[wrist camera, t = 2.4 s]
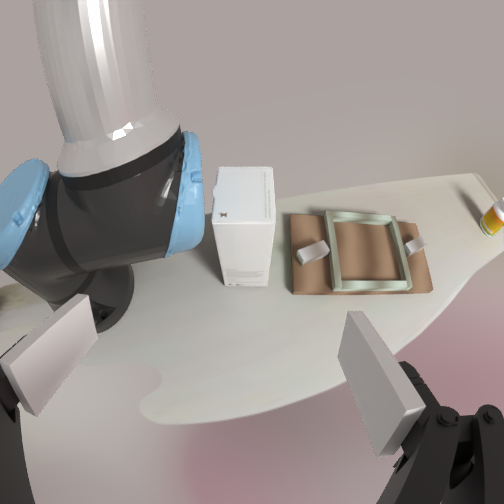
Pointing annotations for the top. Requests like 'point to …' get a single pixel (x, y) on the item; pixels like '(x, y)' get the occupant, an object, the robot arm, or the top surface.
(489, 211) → the supplement bottle
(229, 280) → the skincare box
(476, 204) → the top surface
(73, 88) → the robot arm
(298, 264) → the board
